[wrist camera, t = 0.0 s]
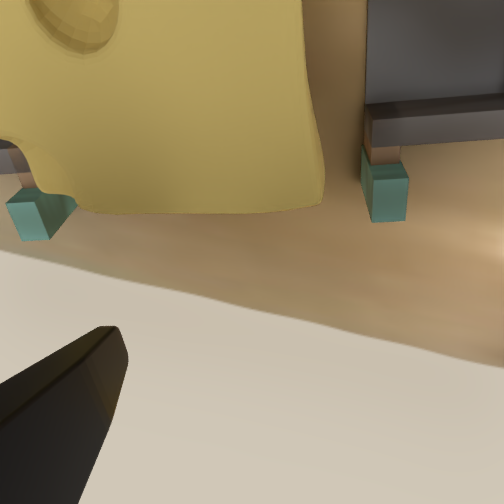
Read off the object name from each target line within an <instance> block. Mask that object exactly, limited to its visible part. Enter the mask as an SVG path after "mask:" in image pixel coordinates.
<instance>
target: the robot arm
mask: <svg viewBox="0 0 504 504" xmlns="http://www.w3.org/2000/svg"><path fill="white" fill-rule="evenodd" d="M127 366H128V352H127V349H126V347H125V344H124V341H123V338H122V335H121V332H120V330H119V328H118V327H116V326H100V327H97V328H96V329H94V330H92V331H90V332H88V333H87V334H85V335H83V336H82V337H80V338H78V339H76V340H75V341H73V342H71V343H70V344H68V345H66V346H64V347H63V348H61V349H59V350H57V351H56V352H54V353H52V354H51V355H49V356H47V357H45V358H44V359H42V360H40V361H39V362H37V363H35V364H33V365H32V366H30V367H28V368H27V369H25V370H23V371H21V372H20V373H18V374H16V375H14V376H13V377H11V378H9V379H8V380H6V381H4V382H3V383H1V384H0V504H78V503H79V500H80V498H81V495H82V493H83V491H84V488H85V486H86V483H87V481H88V478H89V476H90V474H91V471H92V469H93V466H94V464H95V461H96V459H97V457H98V454H99V452H100V450H101V447H102V445H103V442H104V440H105V438H106V435H107V432H108V430H109V427H110V425H111V422H112V419H113V416H114V413H115V409H116V406H117V402H118V399H119V395H120V391H121V388H122V384H123V381H124V377H125V374H126V370H127Z"/></svg>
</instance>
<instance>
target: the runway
mask: <svg viewBox="0 0 504 504" xmlns="http://www.w3.org/2000/svg"><path fill="white" fill-rule="evenodd" d="M491 139H504V0H368V16H367V51H366V86H365V121H364V145H362V152H361V186H362V189H363V193H364V196H365V200H366V204H367V207H368V211H369V214H370V218H371V222H372V223H377V222H396V221H405V218H406V207H407V196H408V184H409V177H408V175H407V173H406V171H405V169H404V167H403V165H402V163H401V161H400V150H401V146H407V145H421V144H435V143H449V142H463V141H477V140H491ZM13 173H17V174H18V177H19V179H20V182H21V184H22V187H23V188H22V189H21V190H20V191H19V192H17V193H16V194H15V195H14V196H13V197H12V198H11V199H10V200H9V201H8V202H6V203H5V204H6V206H7V209H8V211H9V213H10V215H11V218H12V220H13V222H14V224H15V227H16V229H17V231H18V233H19V236H20V238H21V240H22V241H33V240H50V239H51V238H52V236H53V235H54V234H55V233H56V231H57V230H58V229H59V228H60V226H61V225H62V224H63V223H64V222H65V220H66V219H67V218H68V217H69V215H70V214H71V213H72V212H73V211H74V209H75V208H76V207H77V206H78V204H77V203H76V202H75V199H74V198H72V197H71V196H68V195H62V194H47V193H44V192H42V191H41V190H40V189H39V188H38V187H37V185H36V183H35V181H34V178H33V175H32V172H31V169H30V167H29V164H28V162H27V159H26V157H25V156H24V154H23V152H22V151H21V150H20V149H19V147H18V146H17V145H15V144H13V143H12V142H10V141H7V140H2V139H0V174H13Z"/></svg>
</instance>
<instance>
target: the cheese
mask: <svg viewBox="0 0 504 504" xmlns="http://www.w3.org/2000/svg"><path fill="white" fill-rule="evenodd" d="M0 139H2V140H7V141H10V142H12V143H13V144H15V145H17V146H18V147H19V149H20V150H21V151H22V152H23V154H24V156H25V157H26V159H27V162H28V164H29V167H30V169H31V172H32V175H33V178H34V181H35V183H36V185H37V187H38V188H39V189H40V190H41V191H42V192H44V193H47V194H62V195H68V196H71V197H72V198H74V199H75V202H76V203H77V204H78V206H79V207H80V208H81V209H84V210H87V211H90V212H94V213H102V214H115V215H119V214H181V213H193V214H250V213H269V212H278V211H287V210H293V209H298V208H304V207H310V206H315V205H318V204H320V203H321V201H322V198H323V194H324V187H325V166H324V158H323V152H322V147H321V142H320V137H319V133H318V128H317V124H316V119H315V115H314V110H313V105H312V100H311V95H310V89H309V83H308V77H307V69H306V57H305V43H304V28H303V11H302V0H0Z"/></svg>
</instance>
